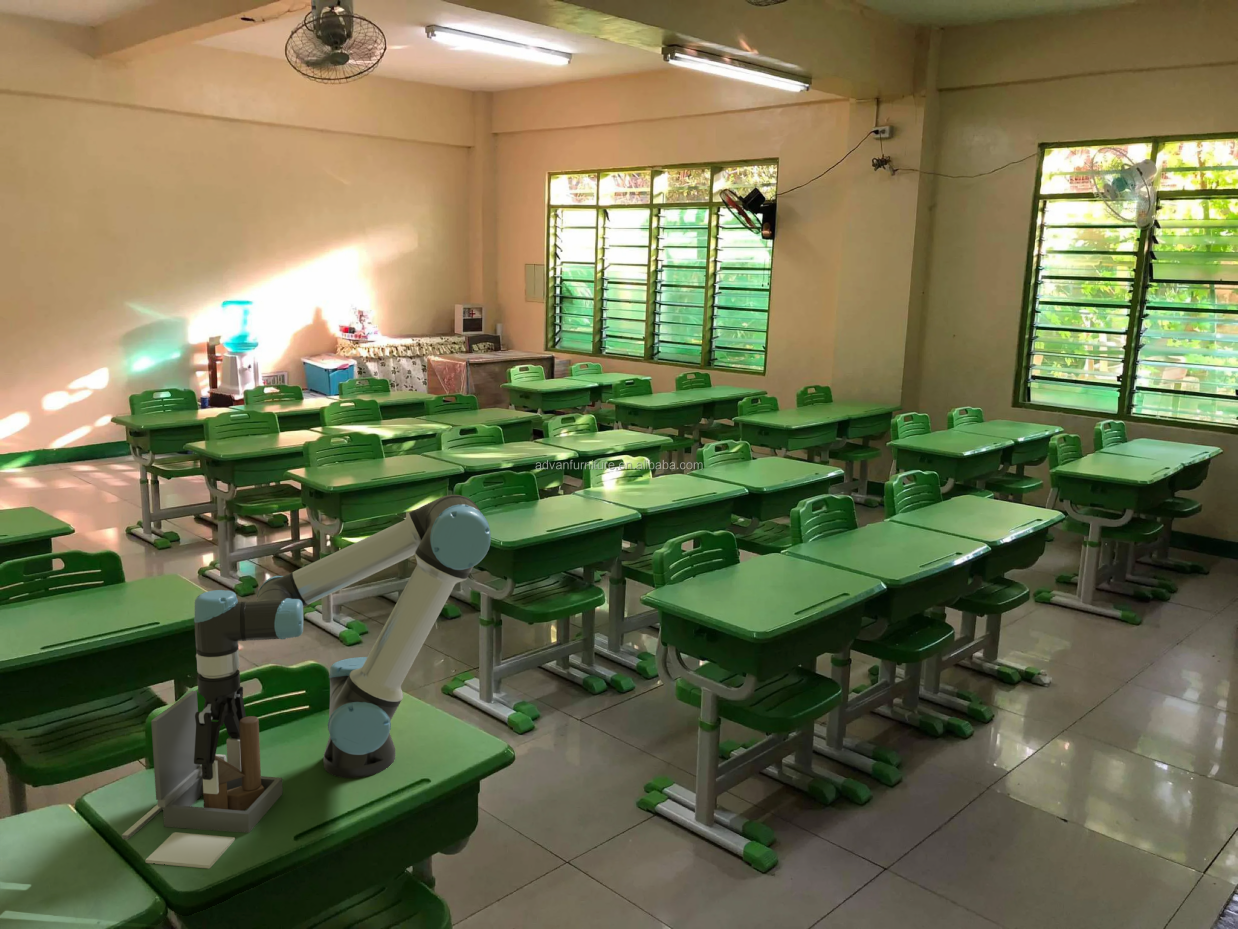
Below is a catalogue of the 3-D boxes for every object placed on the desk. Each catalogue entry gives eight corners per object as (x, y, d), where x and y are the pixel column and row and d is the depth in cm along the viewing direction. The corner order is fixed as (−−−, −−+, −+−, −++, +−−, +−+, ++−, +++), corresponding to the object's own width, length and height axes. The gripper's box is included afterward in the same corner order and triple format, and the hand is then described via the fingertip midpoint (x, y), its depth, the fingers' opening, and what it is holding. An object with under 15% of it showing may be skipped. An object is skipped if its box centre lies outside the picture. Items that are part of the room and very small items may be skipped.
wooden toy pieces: (203, 814, 185) (199, 728, 182) (258, 796, 192) (255, 713, 189) (210, 822, 183) (205, 735, 180) (265, 804, 190) (262, 719, 187)
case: (284, 794, 194) (280, 695, 190) (249, 833, 179) (244, 727, 176) (199, 787, 195) (194, 689, 192) (157, 825, 181) (151, 720, 177)
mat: (235, 840, 177) (234, 837, 177) (209, 868, 168) (209, 865, 168) (174, 835, 178) (173, 832, 178) (145, 862, 169) (145, 859, 169)
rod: (160, 807, 188) (160, 801, 188) (166, 807, 188) (166, 802, 188) (122, 840, 177) (121, 834, 176) (128, 841, 176) (127, 835, 176)
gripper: (228, 650, 193) (232, 754, 196) (168, 692, 172) (174, 807, 176) (263, 652, 192) (267, 757, 196) (207, 694, 171) (213, 810, 175)
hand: (223, 780), depth 186 cm, fingers open, 8 cm apart
